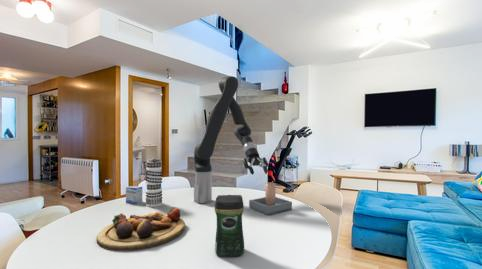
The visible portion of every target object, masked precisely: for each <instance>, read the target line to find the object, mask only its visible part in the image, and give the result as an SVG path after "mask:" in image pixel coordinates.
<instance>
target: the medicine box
mask: <svg viewBox="0 0 482 269" xmlns="http://www.w3.org/2000/svg"><path fill="white" fill-rule="evenodd" d="M142 202H143V186H135V185H131V186H127V187H125V203H128V204H137V205H138V204H141V203H142Z"/></svg>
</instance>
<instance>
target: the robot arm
mask: <svg viewBox="0 0 482 269" xmlns="http://www.w3.org/2000/svg"><path fill="white" fill-rule="evenodd" d="M218 88H219V90H220V92H221V96H220V97H219V99H218V100H217V101H216V103H214V105H213V106H212V108H211V110H210V111H209V115H208V116H207V120H206V126H205V133H204V136H203V138H202V140H201V143H198V144H197V145H196V146H195V147H194V150H193V151H194V152H193V155H194V156H193V158H194V170H195V171H194V172H195V174H194V175H195V178H194V179H195V181H194V182H195V184H193V202H195V203H197V204H207V203H211V202H212V195H213V194H212V191H213V190H212V188H213V187H212V179H213V178H212V175H213V174H212V169H213V168H212V164H211V157H212V156H213V153H214V150H215V145H216V143H217V139H218V136H219V135H220V132H221V129H222V127H223V124H224V123H225V118H226V116H227V114H228V110H229V111H230V115H231V118H232V121H233V123H234V125H236V126H240V125H242V126H240V127H236V128H235V129H234V135H235V137H236V139H237V140H238V141H239V142H240V143H241V146H242V149H243V152H244V156H245V157H244V158H243V160H242V163H243V165H244V168H245V169H246V170H247V169H248V171H249V173H250V174H251V175H254V174H255V171H254V168H253V167H255V166H256V167H257V166H258V167H260V168H262V169H263V172H264V174H265V175H266V174H268V172H269V170H268V167H269V162H268V161H267V159H266V157H265V156H264V157H260V153H259V151H258V149H257V147H256V145H255V143H254V141H253V139H252V136H251V135H252V130H251V128H250V126H249V125H248V123H247V121H246V119H245V116H244V113H243V110H242V108H241V107H240V104H239V103H238V102H237V100H236V99H235V97H234V96H235V94H236V92H237V90H238V88H239V80H238V78H237V77H235V76H223V77H221V78H220V79H219V80H218Z"/></svg>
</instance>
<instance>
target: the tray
mask: <svg viewBox="0 0 482 269" xmlns="http://www.w3.org/2000/svg"><path fill="white" fill-rule="evenodd" d="M292 205H293V201H290V200H287V199H284V198H281V197H277V196H276V205H272V206H266V205H265V197H259V198H253V199H249V200H248V208H249V209H251V210H253V211H255V212H259V213H260V214H263V215H265V216H273V215H276V214H281V213H284V212H288V211H292V210H293V209H292V208H293V206H292Z"/></svg>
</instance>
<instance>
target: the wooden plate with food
mask: <svg viewBox="0 0 482 269" xmlns="http://www.w3.org/2000/svg"><path fill="white" fill-rule="evenodd" d="M113 217H114V218H113V219H112V221H111V222H112V223H111V224H109V225H107V226H106V227H104V228H103V229H101V230H100V231H99V232H98V233H97V235H96V243H97V244H98V246H100V247H101V246H102V248H103V247H104V249H106V248H107V250H110V249H111V250H110V251H120V250H127V251H137V250H143V249H144V250H145V249H149V248H152V247H156V246H159V245H163V244H165V243H167V242H170V241H172V240H173V239H175V238H177V237H179V236H180V235H181V234H182V233H183V232H184V230H185V227H186V223H185V221H184V219H183V218H181V210H180V208H178V207H175V208H172V209H171V210H170V211H169V212H167V213H165V214H164V213H163V212H160V211H155V212H150V213H148V214H143V215H135V214H131V215H130V216H129V217H128V218H127V216H126V215H125V214H124V213H119V214H116V215H114V216H113Z"/></svg>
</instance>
